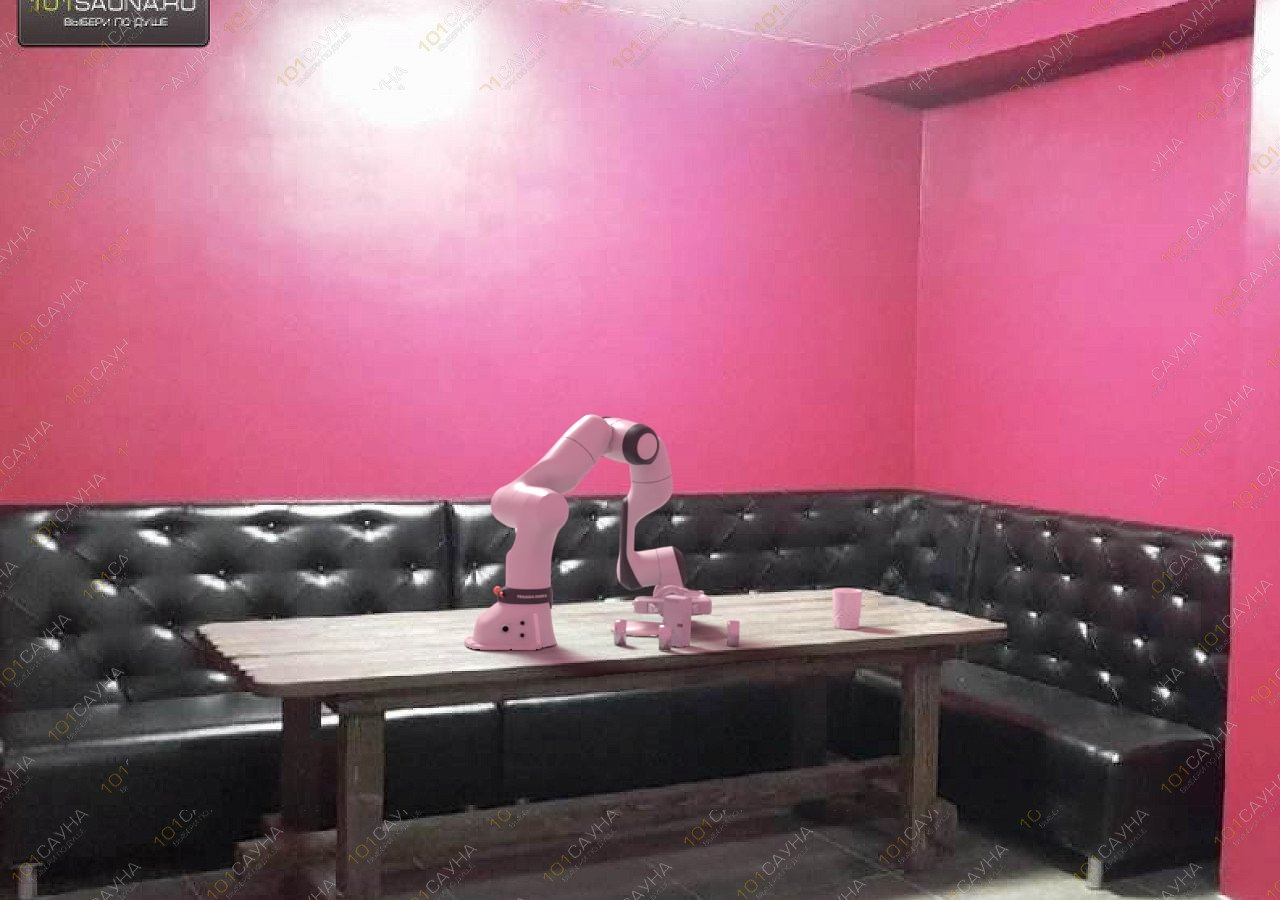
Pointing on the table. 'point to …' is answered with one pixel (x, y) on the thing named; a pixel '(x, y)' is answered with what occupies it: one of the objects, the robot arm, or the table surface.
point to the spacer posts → (666, 634)
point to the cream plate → (641, 628)
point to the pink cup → (846, 607)
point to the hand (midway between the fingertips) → (674, 610)
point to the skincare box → (678, 618)
